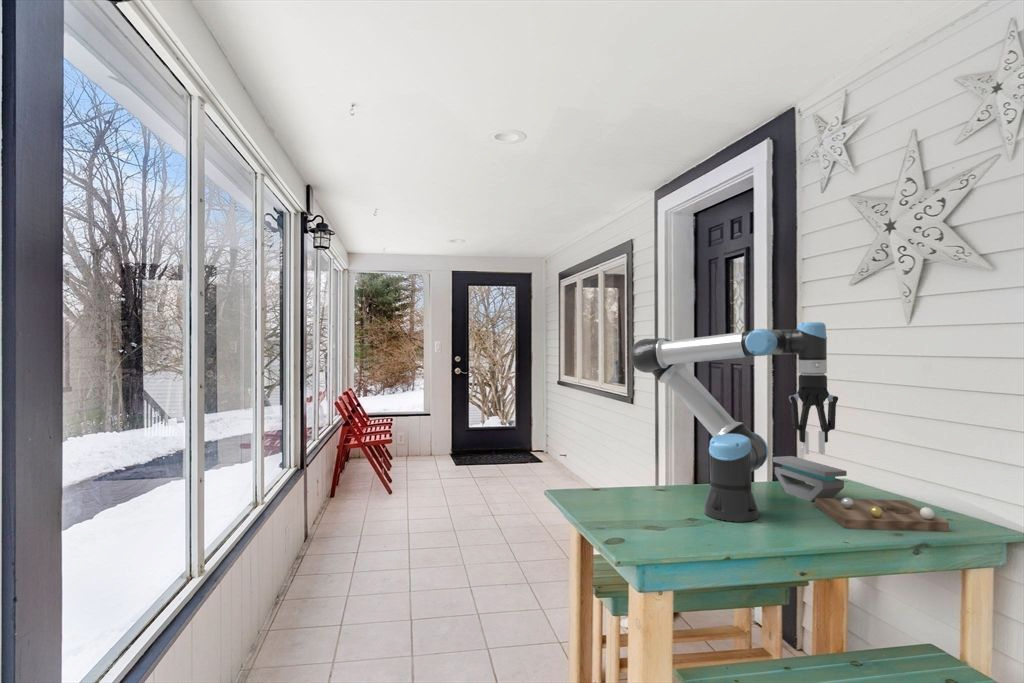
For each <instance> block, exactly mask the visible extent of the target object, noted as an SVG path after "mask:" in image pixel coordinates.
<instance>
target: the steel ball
mask: <svg viewBox="0 0 1024 683" xmlns="http://www.w3.org/2000/svg"><path fill="white" fill-rule="evenodd" d="M841 499H842V500H841V505H842V506H843V507H844V508H846V509H850V508H852V507H853V501H852V500H851V499H852V498H850V497H848V496H847V497H843V498H841Z"/></svg>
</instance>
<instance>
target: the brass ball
mask: <svg viewBox="0 0 1024 683" xmlns="http://www.w3.org/2000/svg"><path fill="white" fill-rule="evenodd" d="M869 513H870V515H871V516H872V517H874V518H879V517H881V516H882V514H883V512H882V509H881V508H880V507H878V506H872V507H871V508H870V509H869Z"/></svg>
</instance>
